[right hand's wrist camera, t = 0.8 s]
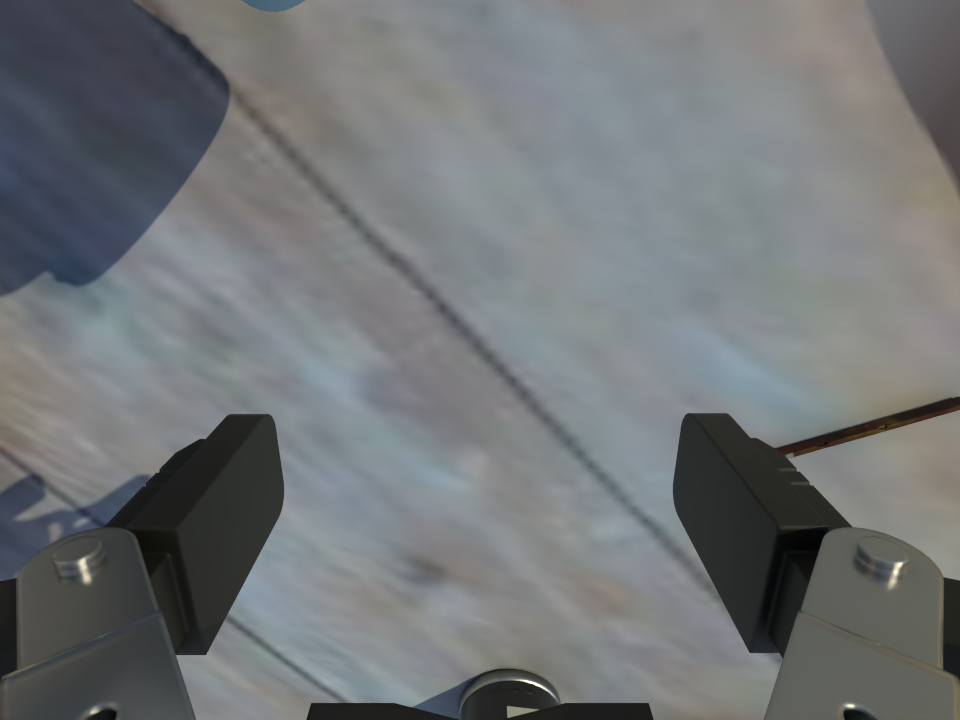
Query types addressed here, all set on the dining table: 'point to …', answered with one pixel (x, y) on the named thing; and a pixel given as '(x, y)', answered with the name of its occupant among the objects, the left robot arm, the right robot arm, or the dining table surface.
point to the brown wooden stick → (871, 428)
